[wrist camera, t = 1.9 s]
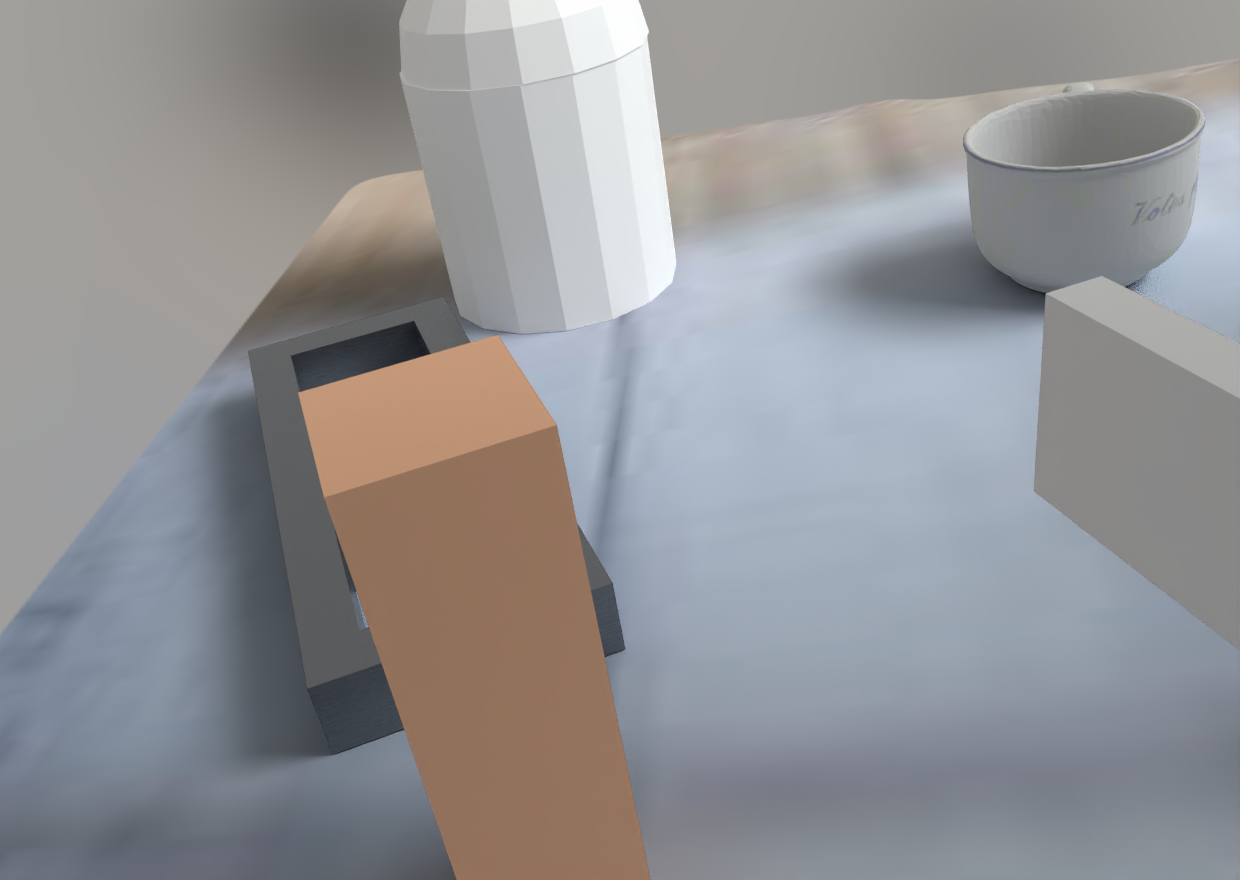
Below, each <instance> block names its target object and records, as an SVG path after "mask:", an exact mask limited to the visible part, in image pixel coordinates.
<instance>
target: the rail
mask: <svg viewBox="0 0 1240 880" xmlns="http://www.w3.org/2000/svg"><path fill="white" fill-rule="evenodd" d="M467 343H471V342H470V341H469V339H468V337H467V336H466V334H465V332H464V330H463V329H462V327H461V325H460V324H459V322H458V320H457V319H456V317H455V315H454V314H453V312H452V310H451V308H450V307H449V305H448V303H447V302H446V300H445V298H444V297H440V298H436V299H432V300H429V301H425V302H422V303H418V304H415V305H411V306H407V307H404V308H400V309H397V310H393V311H389V312H386V313H382V314H379V315H375V316H372V317H368V318H364V319H361V320H357V321H354V322H350V323H346V324H343V325H339V326H336V327H332V328H329V329H325V330H321V331H318V332H314V333H311V334H307V335H304V336H300V337H296V338H293V339H289V340H286V341H282V342H278V343H275V344H271V345H268V346H264V347H261V348H257V349H253V350H250V351H248V354H249V360H250V365H251V371H252V377H253V382H254V388H255V394H256V399H257V405H258V411H259V417H260V422H261V428H262V434H263V439H264V445H265V451H266V457H267V462H268V468H269V474H270V479H271V485H272V491H273V496H274V502H275V508H276V514H277V519H278V525H279V531H280V536H281V542H282V548H283V554H284V559H285V565H286V571H287V576H288V582H289V588H290V593H291V599H292V605H293V611H294V616H295V622H296V628H297V633H298V639H299V645H300V650H301V656H302V662H303V668H304V673H305V679H306V685H307V690H308V692H309V695H310V697H311V700H312V702H313V705H314V707H315V710H316V712H317V715H318V717H319V720H320V722H321V725H322V727H323V730H324V732H325V735H326V737H327V740H328V742H329V745H330V747H331V750H332V752H333V754H336V753H339V752H341V751H344V750H347V749H350V748H352V747H355V746H358V745H361V744H363V743H366V742H369V741H372V740H375V739H377V738H380V737H383V736H386V735H388V734H391V733H394V732H397V731H399V730H402V729H404V727H403V724H402V721H401V718H400V715H399V712H398V709H397V707H396V704H395V701H394V698H393V695H392V692H391V689H390V686H389V683H388V681H387V678H386V675H385V672H384V669H383V666H382V663H381V660H380V657H379V655H378V652H377V649H376V646H375V643H374V640H373V637H372V634H371V632H370V629H369V627H368V628H365V626H364V622H363V618H362V615H361V611H360V607H359V603H358V599H357V595H356V588H355V585H354V582H353V580H352V577H351V574H350V571H349V568H348V565H347V562H346V559H345V556H344V554H343V551H342V548H341V545H340V542H339V539H338V536H337V533H336V531H335V528H334V525H333V522H332V519H331V516H330V513H329V510H328V507H327V505H326V502H325V499H324V495H323V491H322V487H321V483H320V479H319V475H318V471H317V467H316V463H315V459H314V455H313V451H312V447H311V443H310V439H309V435H308V431H307V427H306V423H305V419H304V415H303V411H302V406H301V402H300V398H299V394H298V393H299V392H302V391H306V390H309V389H312V388H316V387H319V386H323V385H326V384H330V383H333V382H337V381H340V380H343V379H347V378H350V377H354V376H357V375H361V374H364V373H368V372H371V371H374V370H378V369H381V368H385V367H388V366H392V365H395V364H399V363H402V362H405V361H409V360H412V359H416V358H419V357H423V356H426V355H430V354H433V353H436V352H440V351H443V350H447V349H450V348H454V347H457V346H461V345H464V344H467ZM577 526H578V531H579V535H580V540H581V545H582V550H583V555H584V560H585V565H586V569H587V574H588V579H589V584H590V589H591V594H592V599H593V603H594V608H595V613H596V618H597V623H598V628H599V632H600V637H601V642H602V647H603V652H604V657H605V656H607V655H610V654H613V653H616V652H618V651H621V650H624V649H625V645H624V640H623V635H622V630H621V624H620V619H619V614H618V609H617V604H616V598H615V593H614V588H613V583H612V581H611V580H610V578H609V576H608V574H607V573H606V571H605V569H604V568H603V566H602V564H601V563H600V561H599V559H598V557H597V556H596V554H595V552H594V551H593V549H592V547H591V546H590V544H589V542H588V541H587V539H586V537H585V535H584V534H583V532H582V530H581V529H580V527H579V525H578V524H577Z"/></svg>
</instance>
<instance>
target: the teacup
mask: <svg viewBox="0 0 1240 880" xmlns="http://www.w3.org/2000/svg"><path fill="white" fill-rule="evenodd" d="M1204 126H1205V115H1204V114H1203V111H1202V110H1200V109H1199V108H1198V107H1197V106H1196V105H1195V104H1193V103H1191V102H1190V101H1188V100H1186V99H1182V98H1180V97H1177V96H1173V95H1169V94H1165V93H1159V92H1151V91H1145V90H1124V89H1113V90H1094V88H1093V86H1092V85H1091V84H1090V83H1075V84H1071V85H1068V86H1067V87H1065V89H1064V90H1063V93H1061V94H1054V95H1049V96H1044V97H1037V98H1034V99H1031V100H1026V101H1022V102H1018V103H1014V104H1012V105H1010V106H1006V107H1003V108H1002V109H1000V110H997V111H995V112H992V113H990V114H988V115H986V116H984V117H983V118H982V119H980V120H978V121H977V122H975V123H974V124H973V125H972V126H971V127H970V128H969V129H968V130H967V132H966V133H965V135H964V138H963V146H964V149H965V152H966V154H967V172H968V189H969V201H970V211H971V219H972V227H973V232H974V236H975V240H976V243H977V245H978V248H979V250H980V251H981V253H982V254H983V256H984V258H985V259H986V260H987V261H988V262H989V263H990V264H991V265H993V266H994V267H995V268H996V269H998V270H999V271H1001V272H1003V273H1004V274H1006V275H1008V276H1010V277H1011V278H1012V279H1013V280H1014V281H1016V282H1017V283H1019V284H1021V285H1023V286H1025V287H1027V288H1029V289H1032V290H1035V291H1039V292H1043V293H1048V292H1052V291H1055V290H1058V289H1061V288H1065V287H1068V286H1071V285H1074V284H1078V283H1081V282H1084V281H1087V280H1091V279H1094V278H1097V277H1100V276H1103V277H1105V278H1107V279H1109V280H1111V281H1113V282H1115V283H1117V284H1119V285H1121V286H1123V287H1125V286H1128V285H1130V284H1132V283H1134V282H1135V281H1137V280H1139V279H1141V278H1142V277H1144V276H1145V275H1146V274H1147V273H1148V272H1149V271H1150V270H1152V269H1154V268H1156V267H1158V266H1159V265H1160V264H1162V263H1163V262H1164V261H1166V260H1167V259H1168V258H1170V257H1171V256H1172V255H1173V254H1174V253H1175V252H1176V251H1177V250H1178V248H1179V247H1180V246H1181V244H1182V243H1183V241H1184V239H1185V237H1186V235H1187V233H1188V230H1189V228H1190V225H1191V221H1192V216H1193V211H1194V205H1195V198H1196V190H1197V181H1198V170H1199V158H1200V142H1201V134H1202V132H1203V129H1204Z"/></svg>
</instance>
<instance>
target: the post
mask: <svg viewBox="0 0 1240 880" xmlns="http://www.w3.org/2000/svg"><path fill="white" fill-rule="evenodd" d="M298 394H299V398H300V402H301V406H302V411H303V415H304V419H305V423H306V427H307V431H308V435H309V439H310V443H311V447H312V451H313V455H314V459H315V463H316V467H317V471H318V475H319V479H320V483H321V487H322V491H323V495H324V499H325V502H326V505H327V507H328V510H329V513H330V516H331V519H332V522H333V525H334V528H335V531H336V533H337V536H338V539H339V542H340V545H341V548H342V551H343V554H344V556H345V559H346V562H347V565H348V568H349V571H350V574H351V577H352V580H353V582H354V585H355V588H356V591H357V594H358V597H359V600H360V603H361V606H362V608H363V611H364V614H365V617H366V620H367V623H368V626H369V629H370V632H371V634H372V637H373V640H374V643H375V646H376V649H377V652H378V655H379V657H380V660H381V663H382V666H383V669H384V672H385V675H386V678H387V681H388V683H389V686H390V689H391V692H392V695H393V698H394V701H395V704H396V707H397V709H398V712H399V715H400V718H401V721H402V724H403V727H404V730H405V733H406V735H407V738H408V741H409V744H410V747H411V750H412V753H413V756H414V758H415V761H416V764H417V767H418V770H419V773H420V776H421V779H422V782H423V784H424V787H425V790H426V793H427V796H428V799H429V802H430V805H431V808H432V810H433V813H434V816H435V819H436V822H437V825H438V828H439V831H440V834H441V836H442V839H443V842H444V845H445V848H446V851H447V854H448V857H449V859H450V862H451V865H452V868H453V871H454V874H455V877H456V880H650V875H649V870H648V865H647V860H646V856H645V851H644V846H643V841H642V836H641V831H640V826H639V822H638V817H637V812H636V807H635V802H634V797H633V792H632V788H631V783H630V778H629V773H628V768H627V763H626V759H625V754H624V749H623V744H622V739H621V734H620V729H619V725H618V720H617V715H616V710H615V705H614V700H613V695H612V691H611V686H610V681H609V676H608V671H607V666H606V662H605V657H604V652H603V647H602V642H601V637H600V632H599V628H598V623H597V618H596V613H595V608H594V603H593V599H592V594H591V589H590V584H589V579H588V574H587V569H586V565H585V560H584V555H583V550H582V545H581V540H580V535H579V531H578V526H577V521H576V516H575V511H574V506H573V502H572V497H571V492H570V487H569V482H568V477H567V472H566V468H565V463H564V458H563V453H562V448H561V443H560V438H559V434H558V429H557V425H556V423H555V422H554V420H553V418H552V417H551V415H550V414H549V412H548V411H547V409H546V408H545V406H544V405H543V403H542V402H541V400H540V398H539V397H538V395H537V394H536V392H535V391H534V389H533V388H532V386H531V385H530V383H529V382H528V380H527V378H526V377H525V375H524V374H523V372H522V371H521V369H520V368H519V366H518V365H517V363H516V362H515V360H514V358H513V357H512V355H511V354H510V352H509V351H508V349H507V348H506V346H505V345H504V343H503V342H502V340H501V339H500V337H499V335H495V336H492V337H488V338H485V339H481V340H478V341H474V342H471V343H467V344H464V345H461V346H457V347H454V348H450V349H447V350H443V351H440V352H436V353H433V354H430V355H426V356H423V357H419V358H416V359H412V360H409V361H405V362H402V363H399V364H395V365H392V366H388V367H385V368H381V369H378V370H374V371H371V372H368V373H364V374H361V375H357V376H354V377H350V378H347V379H343V380H340V381H337V382H333V383H330V384H326V385H323V386H319V387H316V388H312V389H309V390H306V391H302V392H299V393H298Z"/></svg>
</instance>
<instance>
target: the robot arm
mask: <svg viewBox="0 0 1240 880" xmlns="http://www.w3.org/2000/svg"><path fill="white" fill-rule="evenodd" d="M1034 492H1035V493H1037V494H1038V495H1039V496H1041V497H1042V498H1043V499H1044V500H1046V501H1047V502H1048V503H1050V504H1051V505H1052V506H1053V507H1055V508H1056V509H1057V510H1059V511H1060V512H1061V513H1062V514H1064V515H1065V516H1066V517H1068V518H1069V519H1070V520H1072V521H1073V522H1074V523H1075V524H1077V525H1078V526H1079V527H1081V528H1082V529H1083V530H1084V531H1086V532H1087V533H1088V534H1090V535H1091V536H1092V537H1094V538H1095V539H1096V540H1097V541H1099V542H1100V543H1101V544H1103V545H1104V546H1105V547H1106V548H1108V549H1109V550H1110V551H1112V552H1113V553H1114V554H1115V555H1117V556H1118V557H1119V558H1121V559H1122V560H1123V561H1125V562H1126V563H1127V564H1128V565H1130V566H1131V567H1132V568H1134V569H1135V570H1136V571H1137V572H1139V573H1140V574H1141V575H1143V576H1144V577H1145V578H1146V579H1148V580H1149V581H1150V582H1152V583H1153V584H1154V585H1156V586H1157V587H1158V588H1159V589H1161V590H1162V591H1163V592H1165V593H1166V594H1167V595H1168V596H1170V597H1171V598H1172V599H1174V600H1175V601H1176V602H1177V603H1179V604H1180V605H1181V606H1183V607H1184V608H1185V609H1187V610H1188V611H1189V612H1190V613H1192V614H1193V615H1194V616H1196V617H1197V618H1198V619H1199V620H1201V621H1202V622H1203V623H1205V624H1206V625H1207V626H1209V627H1210V628H1211V629H1212V630H1214V631H1215V632H1216V633H1218V634H1219V635H1220V636H1221V637H1223V638H1224V639H1225V640H1227V641H1228V642H1229V643H1230V644H1232V645H1233V646H1234V647H1236V648H1237V649H1238V650H1240V344H1239V343H1237V342H1235V341H1233V340H1231V339H1229V338H1227V337H1225V336H1223V335H1221V334H1219V333H1217V332H1215V331H1213V330H1211V329H1209V328H1207V327H1205V326H1203V325H1201V324H1199V323H1197V322H1195V321H1193V320H1191V319H1189V318H1187V317H1184V316H1182V315H1180V314H1178V313H1176V312H1174V311H1172V310H1170V309H1168V308H1166V307H1164V306H1162V305H1160V304H1158V303H1156V302H1154V301H1152V300H1150V299H1148V298H1146V297H1144V296H1142V295H1140V294H1138V293H1136V292H1134V291H1132V290H1130V289H1128V288H1125V287H1123V286H1121V285H1119V284H1117V283H1115V282H1113V281H1111V280H1109V279H1107V278H1105V277H1103V276H1100V277H1097V278H1094V279H1091V280H1087V281H1084V282H1081V283H1078V284H1074V285H1071V286H1068V287H1065V288H1061V289H1058V290H1055V291H1052V292H1048V293H1046V297H1045V313H1044V330H1043V346H1042V363H1041V379H1040V396H1039V413H1038V429H1037V446H1036V462H1035V479H1034Z"/></svg>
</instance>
